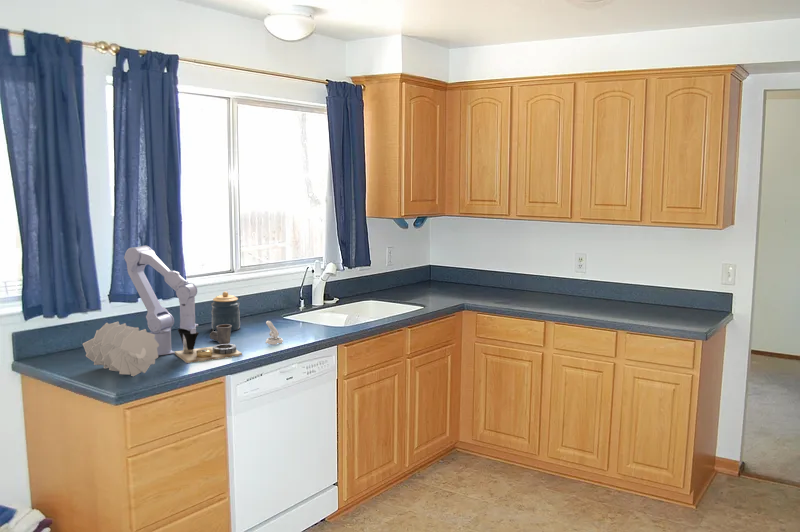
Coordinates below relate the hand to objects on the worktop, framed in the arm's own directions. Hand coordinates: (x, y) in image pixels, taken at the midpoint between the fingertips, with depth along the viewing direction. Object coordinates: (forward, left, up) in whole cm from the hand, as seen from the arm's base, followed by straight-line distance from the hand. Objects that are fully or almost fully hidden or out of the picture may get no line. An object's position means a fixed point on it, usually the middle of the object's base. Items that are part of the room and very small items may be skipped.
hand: (188, 347), depth 276 cm
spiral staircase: (-27, -10, -3) cm, 29 cm away
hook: (+38, +3, -3) cm, 38 cm away
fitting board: (+7, -3, -3) cm, 8 cm away
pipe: (+18, +13, -3) cm, 23 cm away
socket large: (+13, -5, -3) cm, 14 cm away
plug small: (+4, -8, -3) cm, 9 cm away
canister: (+29, +38, -3) cm, 48 cm away
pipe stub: (0, 0, -2) cm, 2 cm away
